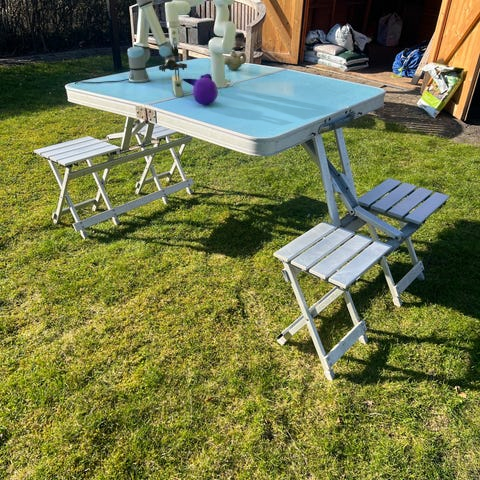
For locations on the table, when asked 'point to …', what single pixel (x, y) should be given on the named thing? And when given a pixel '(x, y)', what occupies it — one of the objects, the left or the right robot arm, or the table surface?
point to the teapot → (235, 60)
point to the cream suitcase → (177, 88)
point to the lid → (176, 76)
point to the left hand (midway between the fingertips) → (173, 68)
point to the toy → (204, 89)
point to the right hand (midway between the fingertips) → (175, 55)
